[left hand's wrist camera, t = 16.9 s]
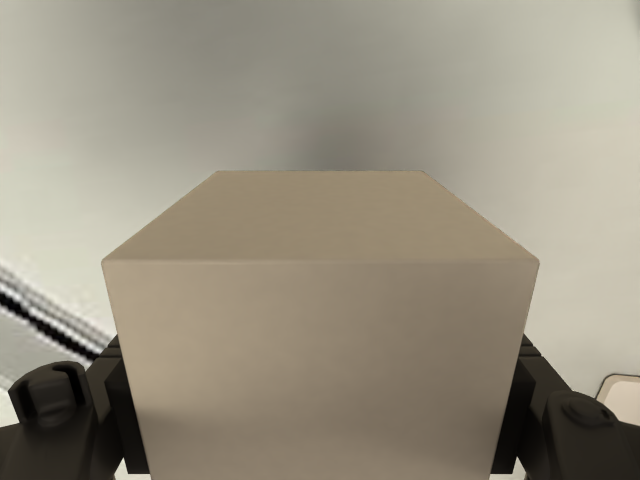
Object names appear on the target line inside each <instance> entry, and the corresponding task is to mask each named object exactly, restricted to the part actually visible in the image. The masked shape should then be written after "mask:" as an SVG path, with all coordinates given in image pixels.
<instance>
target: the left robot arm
mask: <svg viewBox="0 0 640 480" xmlns="http://www.w3.org/2000/svg"><path fill="white" fill-rule="evenodd" d="M8 394H9V396H10V399H11V401H12V404H13V407H14V409H15V412H16V414H17V417H18V420H19V422H20V423H17V424H13V425H9V426H5V427H0V480H116V479H115V475H114V474H115V472H116V470H117V468H118V466H119V464H120V462H121V461H122V459H123V457H124V460H125V464H126V468H127V472H128V474H150V471H149V467H148V463H147V458H146V454H145V450H144V445H143V441H142V437H141V433H140V428H139V424H138V420H137V415H136V411H135V407H134V403H133V398H132V394H131V390H130V385H129V381H128V377H127V373H126V368H125V364H124V360H123V355H122V351H121V347H120V343H119V338H118V334H117V335H116V336H115V337H114V338H113V340H112V341H111V342H110V343H109V344H108V347H107V348H105V349H104V350H103V352H102V353H101V354H100V355H99V358H97V359H96V360H95V361H94V362H93V363H92V365H91V366H90V367H89V368H88V369H87V371H86V372H85V369H84V367H83V366H82V365H81V364H80V363H78V362H73V361H61V362H54V363H51V364H47V365H44V366H41V367H39V368H37V369H35V370H33V371H31V372H29V373H26V374H25V375H24V376H22V377H21V378H20V379H18V380H17V381H16V382H15V383H14V384H13V385H12V386H11V388H10V389H9V390H8ZM517 456H518V458H519V460H520V462H521V464H522V466H523V467H524V469H525V471H526V475H525V479H524V480H640V426H638V425H634V424H630V423H625V422H622V421H619V420H618V418H617V417H616V415H615V414H614V413H613V412H612V411H611V410H610V409H609V408H607V407H606V406H605V405H604V404H603V403H601V402H599V401H597V400H595V399H594V398H592V397H590V396H587V395H585V394H582V393H579V392H576V391H572V390H571V389H570V387H569V386H568V385H567V384H566V383H565V382H564V380H563V379H562V378H561V377H560V376H559V374H558V373H557V372H556V371H555V370H554V369H553V367H552V366H551V365H550V364H549V363H548V361H547V360H546V359H545V358H544V357H542V356H541V353H540V352H539V351H538V350H537V348H536V347H533V344H532V343H531V341H530V340H529V339H528V338H527V337H526V335H525V334H524V333H523V337H522V341H521V345H520V350H519V354H518V358H517V362H516V367H515V371H514V375H513V379H512V384H511V388H510V392H509V396H508V401H507V405H506V409H505V413H504V418H503V422H502V426H501V430H500V435H499V439H498V443H497V447H496V452H495V456H494V460H493V464H492V469H491V473H490V474H512V473H513V469H514V465H515V461H516V457H517Z"/></svg>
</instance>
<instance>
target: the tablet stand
mask: <svg viewBox="0 0 640 480" xmlns="http://www.w3.org/2000/svg"><path fill="white" fill-rule="evenodd" d="M596 400H597V401H599V402H601V403H603V404H604V405H605V406H606V407H607V408H609V409H610V410H611V411H612V412H613V413H614V414H615V415H616V417H617V418H618V420H619V421H622V422H625V423H630V424H634V425H638V426H640V377H632V376H621V375H612V376H610V377H608V378H607V379H606V380H605V382H604V384H603V386H602V388H601V391H600V393H599V395H598V397H597V399H596Z"/></svg>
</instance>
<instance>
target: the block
mask: <svg viewBox="0 0 640 480" xmlns="http://www.w3.org/2000/svg"><path fill="white" fill-rule="evenodd" d="M539 264H540V263H539V259H538V258H536V257H535V256H534V255H532V254H531V253H530V252H528V251H527V250H526V249H524V248H523V247H522V246H520V245H519V244H518V243H516V242H515V241H514V240H513V239H511V238H510V237H509V236H507V235H506V234H505V233H503V232H502V231H501V230H499V229H498V228H497V227H495V226H494V225H493V224H492V223H490V222H489V221H488V220H486V219H485V218H484V217H482V216H481V215H480V214H478V213H477V212H476V211H474V210H473V209H472V208H471V207H469V206H468V205H467V204H465V203H464V202H463V201H461V200H460V199H459V198H457V197H456V196H455V195H453V194H452V193H451V192H450V191H448V190H447V189H446V188H444V187H443V186H442V185H440V184H439V183H438V182H436V181H435V180H434V179H432V178H431V177H430V176H428V175H427V174H426V173H425V172H423V171H217V172H215V173H214V174H213V175H211V176H210V177H209V178H207V179H206V180H205V181H204V182H202V183H201V184H200V185H198V186H197V187H196V188H194V189H193V190H192V191H191V192H189V193H188V194H187V195H185V196H184V197H183V198H181V199H180V200H179V201H178V202H176V203H175V204H174V205H172V206H171V207H170V208H168V209H167V210H166V211H165V212H163V213H162V214H161V215H159V216H158V217H157V218H155V219H154V220H153V221H152V222H150V223H149V224H148V225H146V226H145V227H144V228H142V229H141V230H140V231H139V232H137V233H136V234H135V235H133V236H132V237H131V238H129V239H128V240H127V241H126V242H124V243H123V244H122V245H120V246H119V247H118V248H117V249H115V250H114V251H113V252H111V253H110V254H109V255H107V256H106V257H105V258H104V259H102V262H101V265H102V270H103V274H104V278H105V283H106V287H107V291H108V295H109V300H110V304H111V308H112V313H113V317H114V321H115V325H116V330H117V334H118V338H119V343H120V347H121V351H122V355H123V360H124V364H125V368H126V373H127V377H128V381H129V385H130V390H131V394H132V398H133V403H134V407H135V411H136V415H137V420H138V424H139V428H140V433H141V437H142V441H143V445H144V450H145V454H146V458H147V463H148V467H149V471H150V475H151V480H489V477H490V473H491V469H492V464H493V460H494V456H495V452H496V447H497V443H498V439H499V435H500V430H501V426H502V422H503V418H504V413H505V409H506V405H507V401H508V396H509V392H510V388H511V384H512V379H513V375H514V371H515V367H516V362H517V358H518V354H519V350H520V345H521V341H522V337H523V333H524V328H525V324H526V320H527V316H528V311H529V307H530V303H531V299H532V294H533V290H534V286H535V282H536V277H537V273H538V269H539Z"/></svg>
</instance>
